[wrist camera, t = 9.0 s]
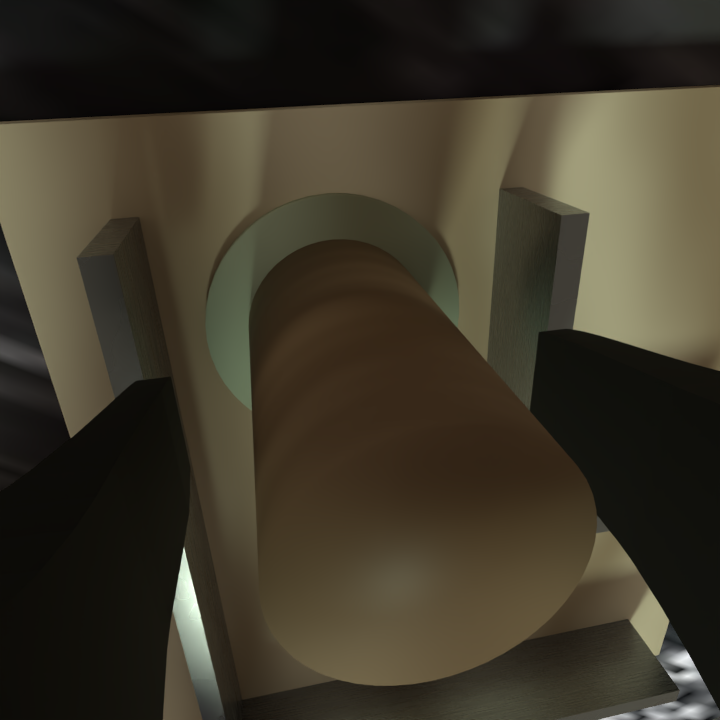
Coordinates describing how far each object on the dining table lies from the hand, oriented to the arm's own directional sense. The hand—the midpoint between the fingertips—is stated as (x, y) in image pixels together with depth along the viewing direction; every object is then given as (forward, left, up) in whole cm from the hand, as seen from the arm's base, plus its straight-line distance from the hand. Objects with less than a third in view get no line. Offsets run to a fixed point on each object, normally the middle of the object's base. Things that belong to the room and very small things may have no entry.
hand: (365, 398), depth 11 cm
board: (+3, -6, -5) cm, 8 cm away
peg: (0, 0, -4) cm, 4 cm away
